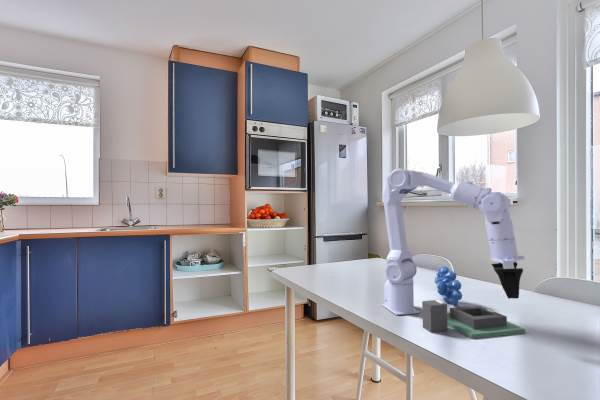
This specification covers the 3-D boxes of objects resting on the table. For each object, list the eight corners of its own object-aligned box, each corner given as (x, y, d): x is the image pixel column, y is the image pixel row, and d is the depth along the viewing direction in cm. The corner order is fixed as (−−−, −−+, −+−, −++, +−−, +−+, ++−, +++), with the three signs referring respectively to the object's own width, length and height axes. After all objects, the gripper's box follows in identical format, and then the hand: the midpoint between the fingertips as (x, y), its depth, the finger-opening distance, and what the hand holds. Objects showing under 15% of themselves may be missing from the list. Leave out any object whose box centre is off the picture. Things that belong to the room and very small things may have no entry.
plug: (422, 327, 81) (422, 300, 81) (438, 325, 82) (438, 299, 82) (431, 332, 77) (430, 304, 78) (447, 331, 78) (447, 303, 79)
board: (434, 318, 88) (434, 305, 88) (482, 313, 91) (481, 301, 91) (471, 338, 74) (470, 323, 74) (525, 332, 77) (525, 318, 77)
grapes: (425, 299, 106) (425, 264, 106) (442, 297, 107) (441, 263, 108) (449, 310, 94) (448, 271, 95) (467, 308, 96) (466, 270, 96)
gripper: (525, 239, 68) (537, 301, 66) (516, 236, 80) (525, 288, 79) (488, 242, 71) (499, 301, 69) (485, 238, 84) (494, 288, 82)
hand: (510, 294), depth 74 cm, fingers open, 7 cm apart
